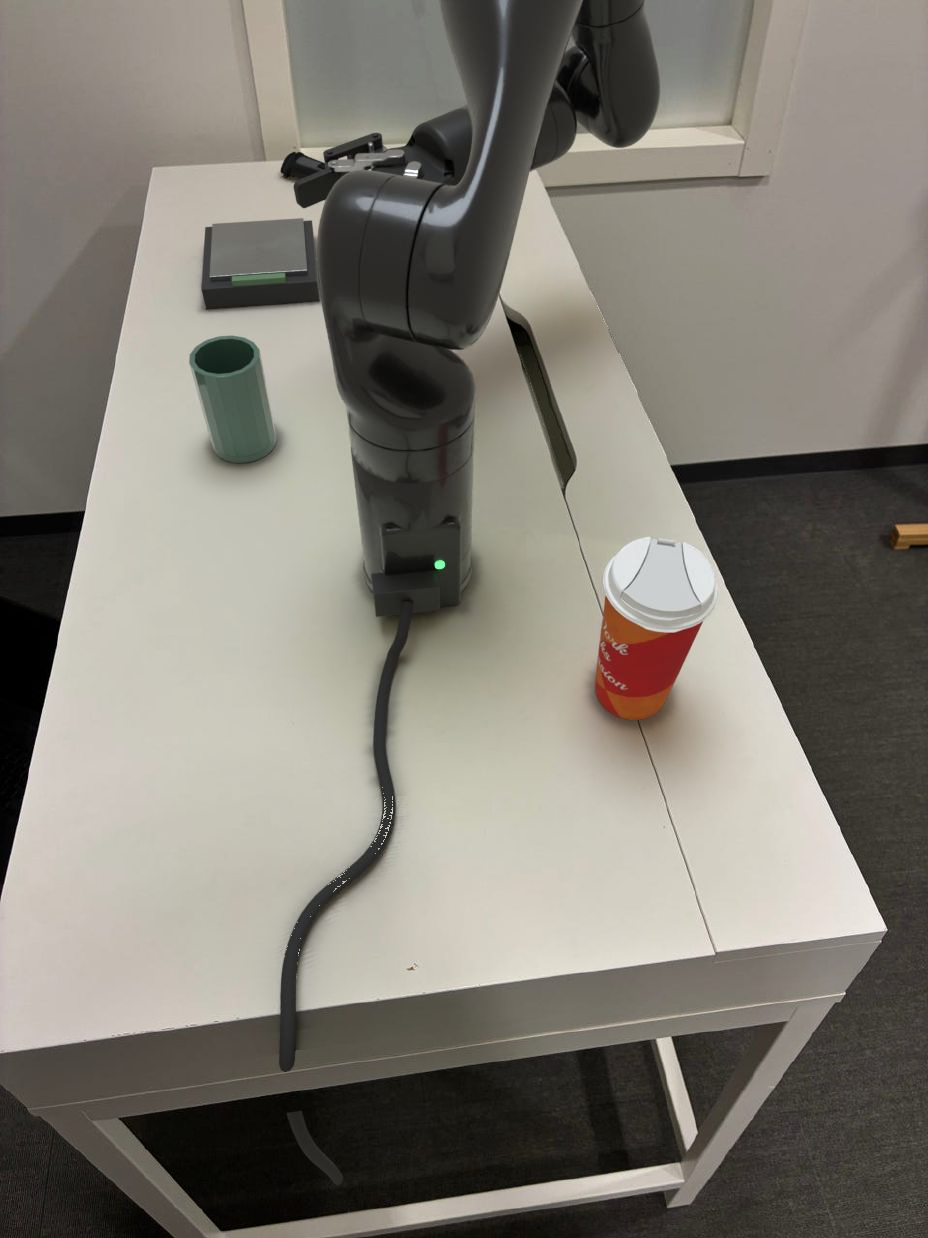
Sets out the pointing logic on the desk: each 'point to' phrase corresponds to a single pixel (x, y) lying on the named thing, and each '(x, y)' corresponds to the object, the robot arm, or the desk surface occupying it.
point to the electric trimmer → (300, 165)
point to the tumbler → (234, 398)
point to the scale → (259, 263)
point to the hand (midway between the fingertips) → (322, 217)
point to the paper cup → (650, 622)
